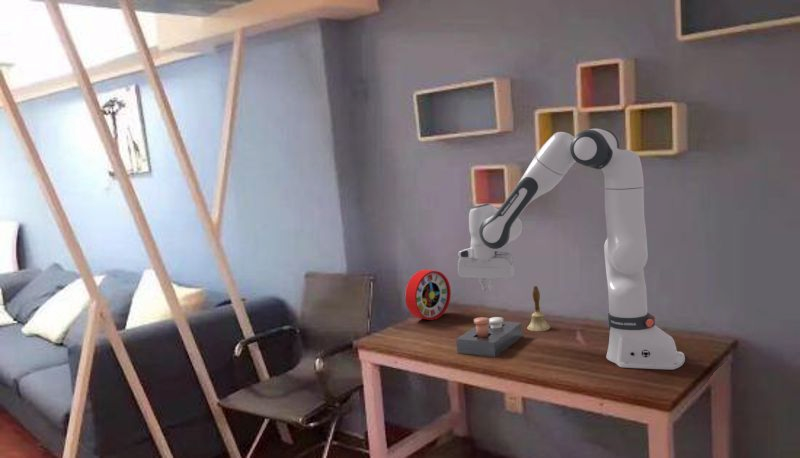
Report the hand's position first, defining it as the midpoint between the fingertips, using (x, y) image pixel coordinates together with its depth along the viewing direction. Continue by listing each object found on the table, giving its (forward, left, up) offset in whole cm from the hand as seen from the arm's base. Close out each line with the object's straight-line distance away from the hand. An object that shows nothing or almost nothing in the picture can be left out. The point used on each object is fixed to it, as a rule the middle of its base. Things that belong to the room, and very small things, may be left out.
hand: (487, 290), depth 222 cm
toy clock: (+38, -22, -19) cm, 48 cm away
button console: (0, +1, -19) cm, 19 cm away
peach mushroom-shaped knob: (0, +6, -14) cm, 16 cm away
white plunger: (0, -5, -17) cm, 18 cm away
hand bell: (-9, -21, -19) cm, 30 cm away
